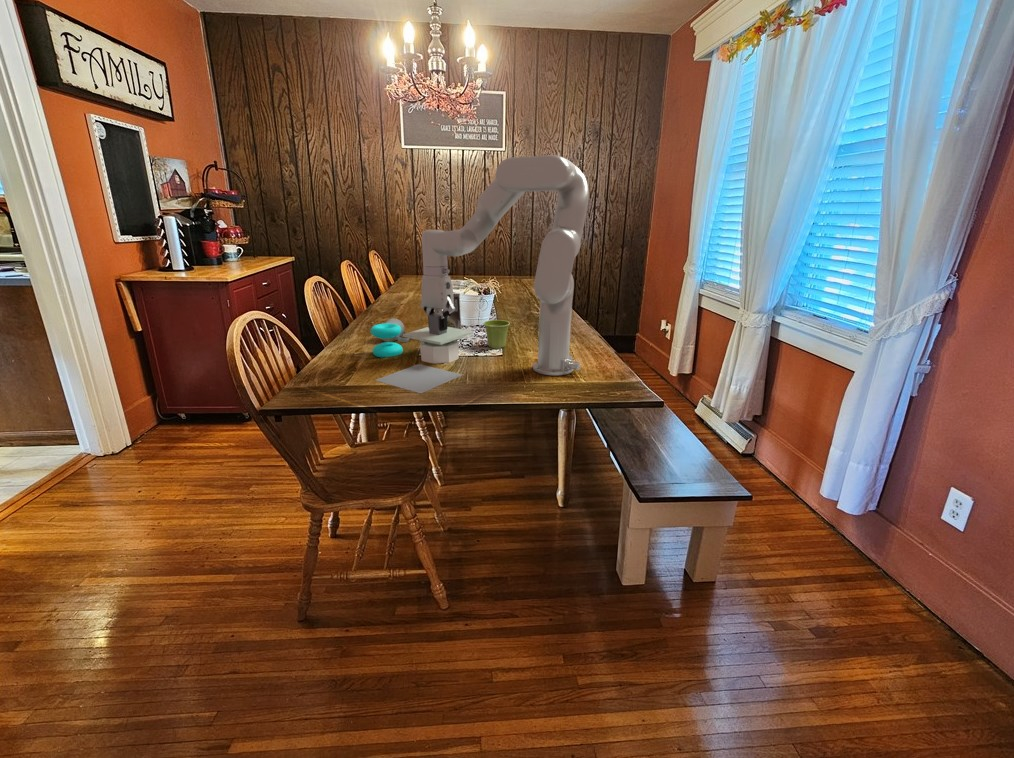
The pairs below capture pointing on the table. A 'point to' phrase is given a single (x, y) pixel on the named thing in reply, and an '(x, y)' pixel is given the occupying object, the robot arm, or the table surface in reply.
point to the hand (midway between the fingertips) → (438, 328)
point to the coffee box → (454, 314)
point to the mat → (419, 378)
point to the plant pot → (496, 332)
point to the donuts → (388, 347)
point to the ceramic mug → (398, 322)
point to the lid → (437, 332)
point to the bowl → (439, 352)
